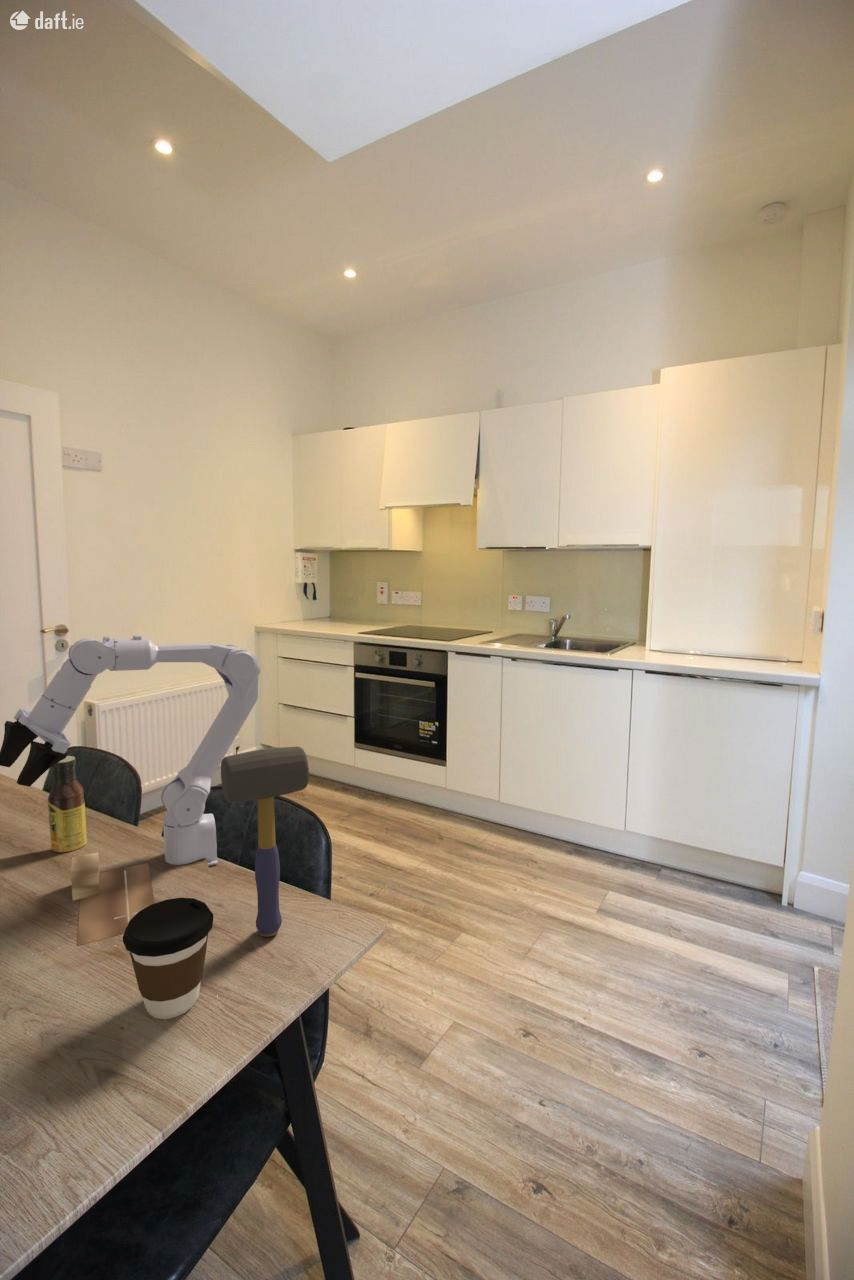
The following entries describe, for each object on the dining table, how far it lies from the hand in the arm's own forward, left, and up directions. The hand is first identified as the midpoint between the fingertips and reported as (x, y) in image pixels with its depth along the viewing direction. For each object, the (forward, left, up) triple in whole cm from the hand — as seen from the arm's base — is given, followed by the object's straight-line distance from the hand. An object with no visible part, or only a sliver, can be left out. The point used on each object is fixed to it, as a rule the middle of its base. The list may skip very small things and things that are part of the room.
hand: (12, 774), depth 97 cm
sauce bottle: (-6, -18, -23) cm, 30 cm away
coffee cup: (-20, +36, -23) cm, 48 cm away
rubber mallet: (-35, +27, -23) cm, 50 cm away
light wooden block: (-10, +2, -23) cm, 25 cm away
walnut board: (-14, +8, -23) cm, 28 cm away
